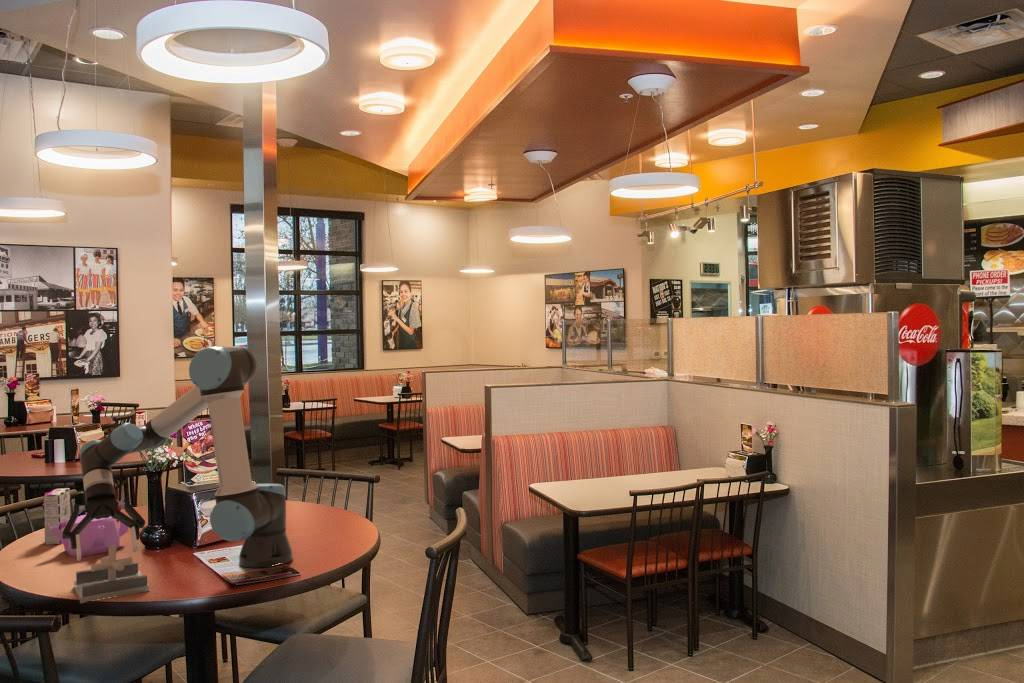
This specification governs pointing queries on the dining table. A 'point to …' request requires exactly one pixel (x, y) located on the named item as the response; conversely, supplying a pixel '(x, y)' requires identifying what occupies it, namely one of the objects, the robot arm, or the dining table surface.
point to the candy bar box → (56, 513)
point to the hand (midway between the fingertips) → (108, 553)
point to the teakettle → (94, 536)
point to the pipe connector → (112, 563)
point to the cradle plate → (133, 591)
